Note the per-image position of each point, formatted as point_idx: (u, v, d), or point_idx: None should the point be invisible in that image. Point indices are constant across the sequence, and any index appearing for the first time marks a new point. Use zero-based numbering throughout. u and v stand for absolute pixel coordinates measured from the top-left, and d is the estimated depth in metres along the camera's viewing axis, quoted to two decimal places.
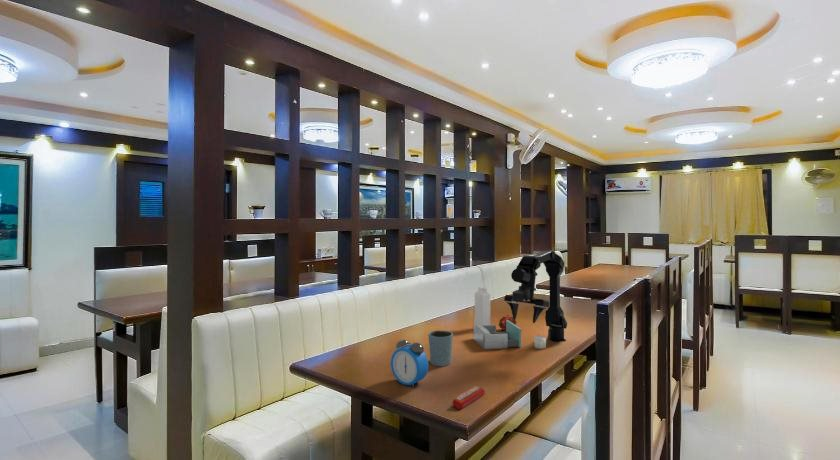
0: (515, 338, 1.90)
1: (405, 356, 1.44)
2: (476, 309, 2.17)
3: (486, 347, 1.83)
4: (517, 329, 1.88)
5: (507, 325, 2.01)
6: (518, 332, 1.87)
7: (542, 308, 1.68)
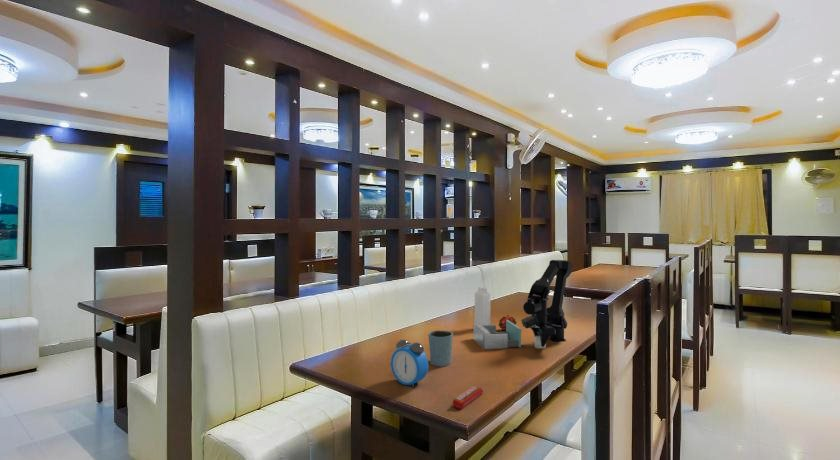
0: (515, 338, 1.90)
1: (405, 356, 1.44)
2: (476, 309, 2.17)
3: (486, 347, 1.83)
4: (517, 329, 1.88)
5: (507, 325, 2.01)
6: (518, 332, 1.87)
7: None
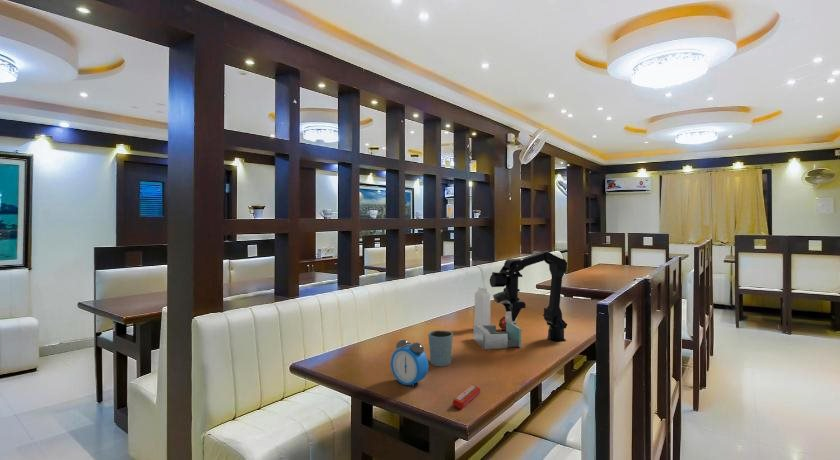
0: (515, 338, 1.90)
1: (405, 356, 1.44)
2: (476, 309, 2.17)
3: (486, 347, 1.83)
4: (517, 329, 1.88)
5: (507, 325, 2.01)
6: (518, 332, 1.87)
7: (515, 308, 1.84)
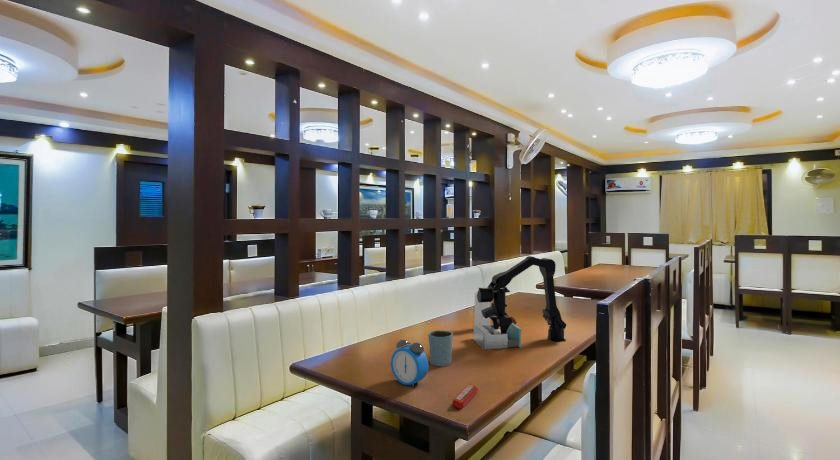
0: (515, 338, 1.90)
1: (405, 356, 1.44)
2: (476, 309, 2.17)
3: (486, 347, 1.83)
4: (517, 329, 1.88)
5: None
6: (518, 332, 1.87)
7: (504, 325, 1.85)
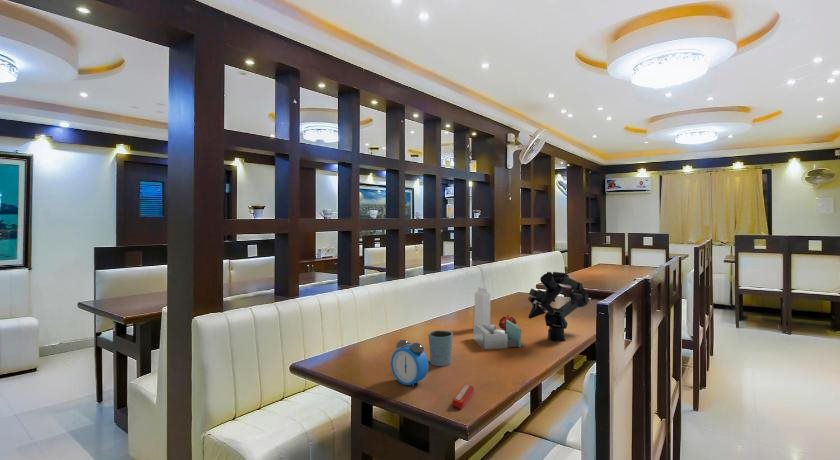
0: (515, 338, 1.90)
1: (405, 356, 1.44)
2: (476, 309, 2.17)
3: (486, 347, 1.83)
4: (517, 329, 1.88)
5: (507, 325, 2.01)
6: (518, 332, 1.87)
7: (540, 309, 1.92)
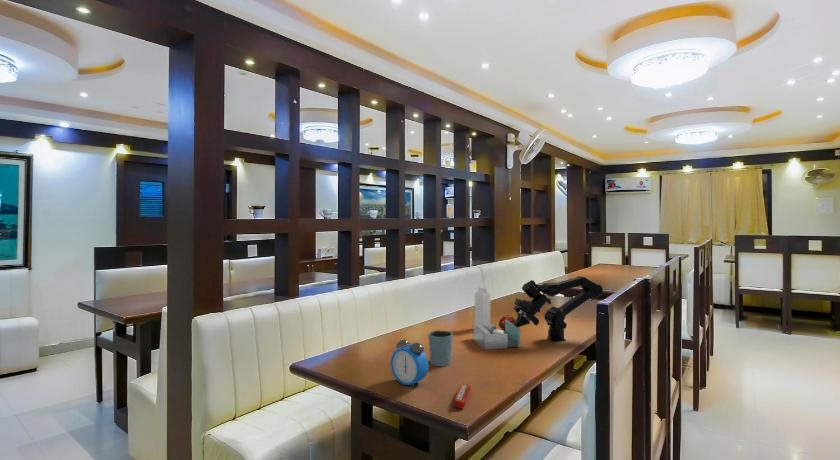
0: (514, 338, 1.90)
1: (405, 356, 1.44)
2: (476, 309, 2.17)
3: (486, 347, 1.83)
4: (516, 329, 1.88)
5: (506, 325, 2.00)
6: (517, 332, 1.87)
7: (525, 319, 1.91)
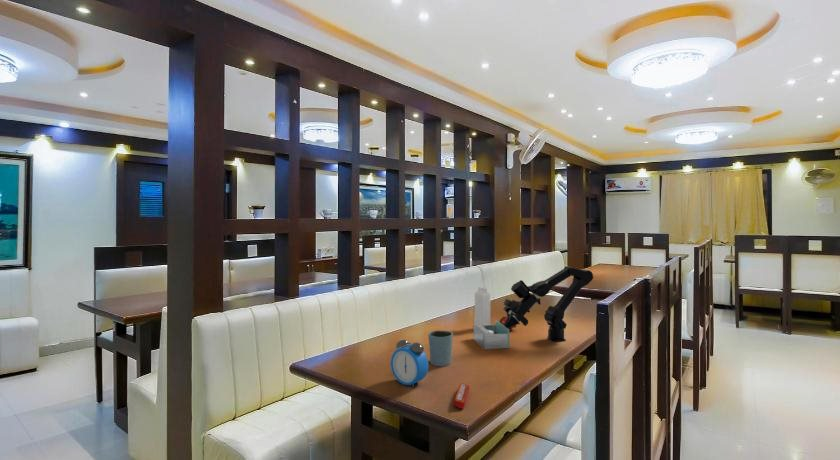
0: None
1: (405, 356, 1.44)
2: (476, 309, 2.17)
3: (486, 347, 1.83)
4: (505, 330, 1.87)
5: (496, 325, 2.00)
6: (506, 333, 1.86)
7: (514, 319, 1.90)
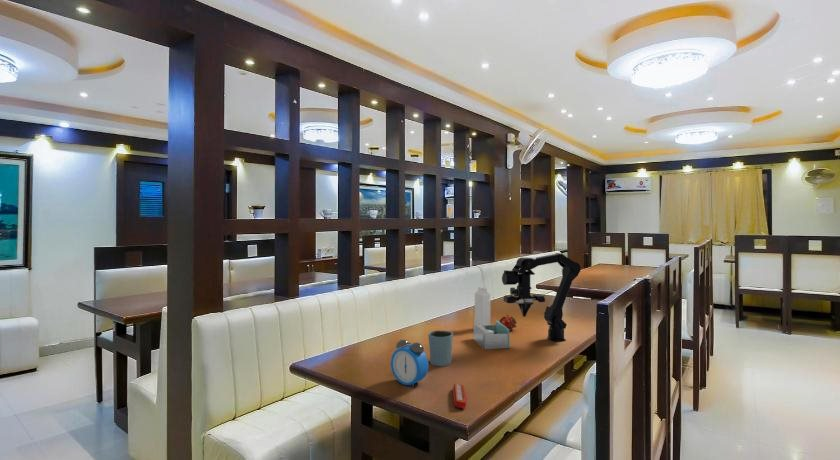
0: None
1: (405, 356, 1.44)
2: (476, 309, 2.17)
3: (486, 347, 1.83)
4: (506, 329, 1.87)
5: (496, 325, 2.00)
6: (506, 333, 1.86)
7: None
